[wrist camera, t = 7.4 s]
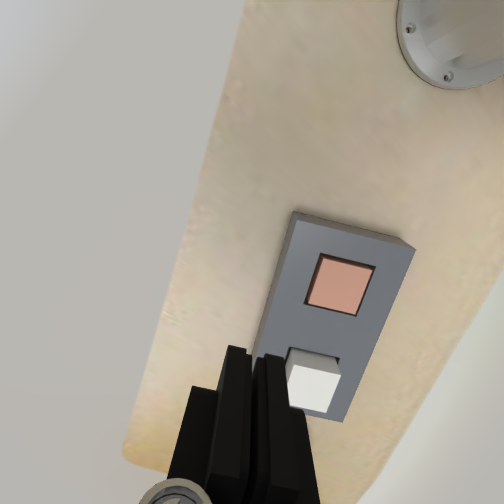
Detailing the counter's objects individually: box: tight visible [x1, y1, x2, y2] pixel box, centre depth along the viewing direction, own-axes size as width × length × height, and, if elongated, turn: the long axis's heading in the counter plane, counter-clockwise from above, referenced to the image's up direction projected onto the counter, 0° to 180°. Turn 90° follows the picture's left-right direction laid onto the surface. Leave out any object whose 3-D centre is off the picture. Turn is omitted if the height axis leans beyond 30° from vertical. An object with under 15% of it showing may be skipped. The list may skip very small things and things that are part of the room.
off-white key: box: [285, 347, 341, 413], centre depth 36 cm, size 5×5×3 cm
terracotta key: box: [306, 253, 372, 314], centre depth 35 cm, size 5×5×3 cm
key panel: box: [251, 212, 416, 423], centre depth 37 cm, size 22×12×4 cm, turn 166°
